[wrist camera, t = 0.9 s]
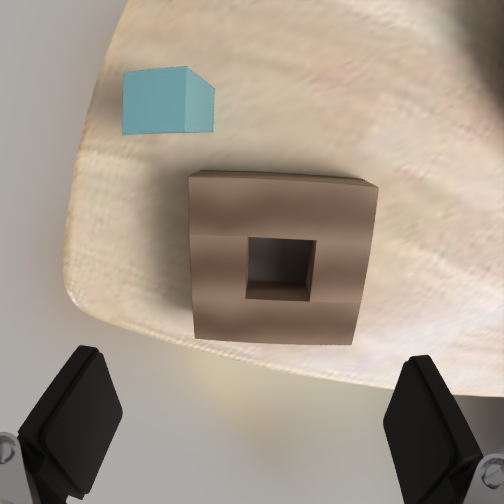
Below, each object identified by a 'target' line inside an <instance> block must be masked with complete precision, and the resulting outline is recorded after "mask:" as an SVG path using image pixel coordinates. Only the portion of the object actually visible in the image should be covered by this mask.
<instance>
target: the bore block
mask: <svg viewBox="0 0 504 504" xmlns="http://www.w3.org/2000/svg"><path fill="white" fill-rule="evenodd" d="M378 189H379V188H378V187H377V186H375V185H373V184H371V183H369V182H367V181H365V180H363V179H356V178H345V177H333V176H321V175H307V174H291V173H272V172H248V171H203V170H200V171H199V172H197V173H195V174H193V175H191V176H190V177H188V191H189V238H190V265H191V286H192V304H193V320H194V334H195V339H206V340H219V341H233V342H249V343H269V344H297V345H352V341H353V336H354V332H355V328H356V323H357V318H358V314H359V309H360V304H361V299H362V294H363V289H364V284H365V278H366V273H367V267H368V261H369V255H370V249H371V243H372V236H373V229H374V222H375V214H376V206H377V198H378Z"/></svg>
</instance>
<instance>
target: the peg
mask: <svg viewBox="0 0 504 504" xmlns="http://www.w3.org/2000/svg"><path fill="white" fill-rule="evenodd" d="M214 90H215V88H214V87H212V86H211V85H210V84H209V83H207V82H206V81H205V80H204V79H202V78H201V77H200V76H199V75H197V74H196V73H195V72H194V71H192V70H191V69H190V68H188V67H187V66H182V67H169V68H158V69H149V70H140V71H133V72H125V73H124V84H123V118H122V135H131V134H153V133H186V132H213V123H214Z"/></svg>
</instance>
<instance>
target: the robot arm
mask: <svg viewBox="0 0 504 504" xmlns="http://www.w3.org/2000/svg"><path fill="white" fill-rule="evenodd" d="M122 413H123V412H122V407H121V404H120V402H119V400H118V396H117V394H116V391H115V388H114V386H113V383H112V380H111V377H110V374H109V371H108V368H107V366H106V362H105V359H104V356H103V354H102V353H100V352H99V350H98V349H97V348H95V347H90V346H84V345H80V346H79V347H78V348H77V349H76V350H75V351H74V353H73V354H72V355H71V357H70V358H69V360H68V361H67V362H66V364H65V365H64V366H63V368H62V369H61V370H60V371H59V373H58V374H57V376H56V377H55V378H54V380H53V381H52V383H51V384H50V385H49V387H48V388H47V390H46V391H45V392H44V394H43V395H42V397H41V398H40V400H39V401H38V402H37V404H36V405H35V407H34V408H33V410H32V411H31V412H30V414H29V416H28V417H27V419H26V420H25V421H24V423H23V424H22V426H21V427H20V429H19V431H18V433H19V435H18V437H17V438H16V437H15V436H14V435H13V434H11V433H7V432H0V504H67V503H66V499H67V497H68V495H70V496H72V497H75V498H78V499H80V500H82V499H83V497H84V495H85V494H88V493H89V492H90V490H91V488H92V485H93V483H94V481H95V478H96V476H97V473H98V471H99V469H100V466H101V464H102V462H103V459H104V457H105V455H106V452H107V450H108V448H109V445H110V443H111V441H112V439H113V436H114V434H115V432H116V430H117V427H118V425H119V423H120V421H121V418H122ZM383 426H384V430H385V434H386V437H387V441H388V444H389V447H390V451H391V455H392V458H393V462H394V465H395V469H396V473H397V477H398V480H399V484H400V488H401V492H402V496H403V500H404V504H504V455H502V454H490V455H488V456H486V457H483V454H482V452H481V450H480V448H479V446H478V444H477V442H476V440H475V437H474V436H473V433H472V431H471V429H470V427H469V425H468V423H467V421H466V420H465V417H464V415H463V414H462V412H461V410H460V408H459V406H458V404H457V402H456V400H455V399H454V397H453V396H452V394H451V393H450V391H449V389H448V387H447V385H446V384H445V382H444V380H443V378H442V376H441V375H440V373H439V371H438V369H437V368H436V366H435V364H434V362H433V361H432V359H431V357H430V356H429V355H420V356H412V357H410V358H409V360H408V361H406V362H405V363H404V364H403V367H402V370H401V373H400V376H399V379H398V382H397V384H396V387H395V390H394V393H393V395H392V398H391V401H390V403H389V406H388V408H387V411H386V413H385V416H384V419H383Z"/></svg>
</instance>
